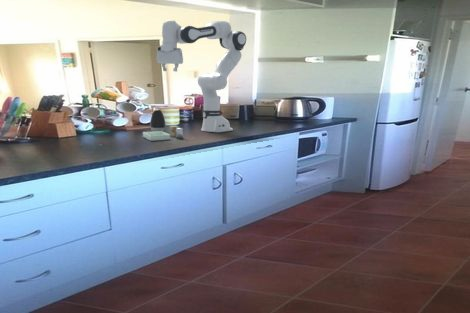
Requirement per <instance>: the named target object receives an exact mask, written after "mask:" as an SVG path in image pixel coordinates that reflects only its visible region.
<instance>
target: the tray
mask: <svg viewBox="0 0 470 313" xmlns="http://www.w3.org/2000/svg"><path fill="white" fill-rule="evenodd" d="M142 138H144V139H146V140H148V141H150V142H154V141H155V142H156V141H169V140H171V136H170V133H168V132H165V131H154V132H153V131H142Z"/></svg>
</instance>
